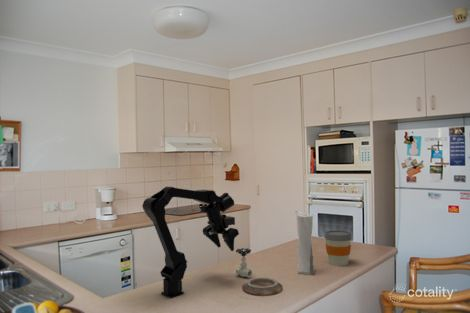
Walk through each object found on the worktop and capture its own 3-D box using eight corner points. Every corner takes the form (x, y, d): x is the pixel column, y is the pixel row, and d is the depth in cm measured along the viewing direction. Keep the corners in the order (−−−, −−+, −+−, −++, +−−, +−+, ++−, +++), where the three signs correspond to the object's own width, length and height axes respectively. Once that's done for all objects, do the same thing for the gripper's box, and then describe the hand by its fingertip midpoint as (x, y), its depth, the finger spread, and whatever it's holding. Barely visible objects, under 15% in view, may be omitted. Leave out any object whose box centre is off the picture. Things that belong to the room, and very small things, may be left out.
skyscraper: (294, 273, 171) (293, 211, 171) (298, 268, 179) (297, 209, 179) (313, 275, 168) (312, 212, 168) (316, 270, 176) (315, 209, 176)
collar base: (264, 299, 141) (264, 292, 141) (234, 289, 152) (234, 282, 152) (290, 288, 152) (290, 281, 152) (260, 279, 164) (260, 273, 164)
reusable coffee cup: (342, 268, 177) (341, 236, 177) (320, 263, 187) (319, 232, 187) (356, 263, 185) (356, 232, 185) (334, 258, 195) (334, 229, 195)
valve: (242, 273, 172) (242, 247, 173) (254, 276, 168) (253, 249, 168) (233, 277, 167) (232, 250, 167) (245, 280, 163) (244, 252, 163)
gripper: (242, 210, 159) (253, 242, 163) (215, 206, 174) (226, 236, 177) (222, 223, 153) (234, 256, 156) (196, 218, 167) (208, 248, 171)
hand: (226, 248), depth 165 cm, fingers open, 9 cm apart
